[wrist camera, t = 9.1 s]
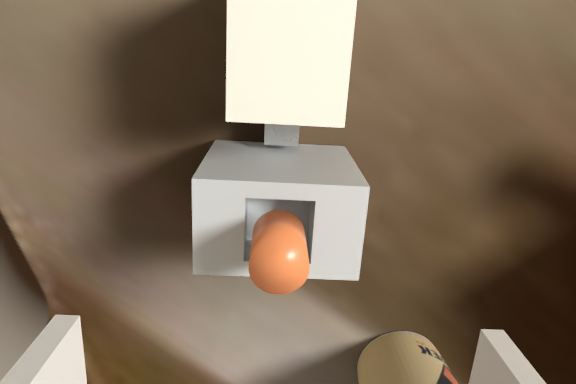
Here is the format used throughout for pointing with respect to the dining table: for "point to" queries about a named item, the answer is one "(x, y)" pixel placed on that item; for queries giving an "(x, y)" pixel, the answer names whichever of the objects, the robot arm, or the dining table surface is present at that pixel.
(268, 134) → the rail
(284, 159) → the grey block with recess
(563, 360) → the dining table surface
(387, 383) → the coffee cup
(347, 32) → the block
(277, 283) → the button
